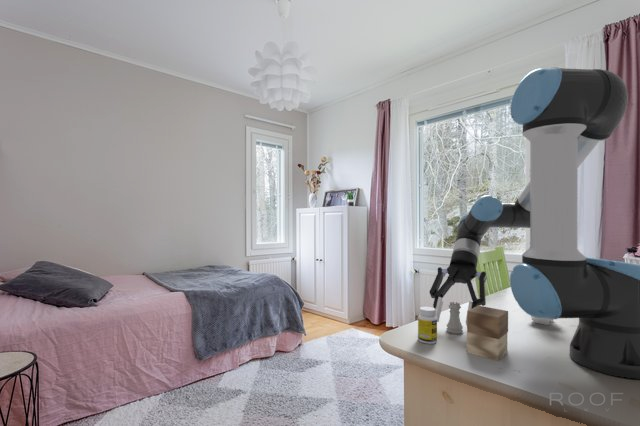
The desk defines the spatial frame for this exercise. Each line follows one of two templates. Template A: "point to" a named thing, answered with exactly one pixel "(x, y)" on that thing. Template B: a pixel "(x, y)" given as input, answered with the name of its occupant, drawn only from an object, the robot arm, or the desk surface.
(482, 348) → the beech block
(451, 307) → the rook chess piece
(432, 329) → the supplement bottle
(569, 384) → the desk surface
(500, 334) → the walnut block
